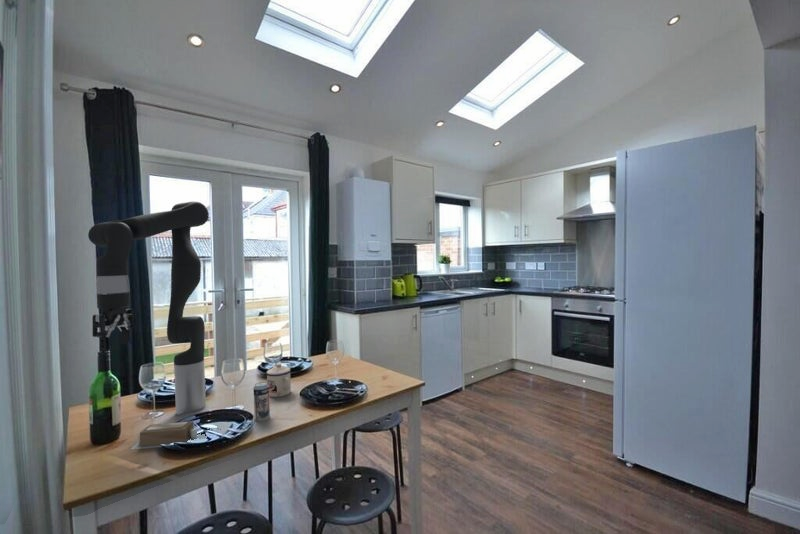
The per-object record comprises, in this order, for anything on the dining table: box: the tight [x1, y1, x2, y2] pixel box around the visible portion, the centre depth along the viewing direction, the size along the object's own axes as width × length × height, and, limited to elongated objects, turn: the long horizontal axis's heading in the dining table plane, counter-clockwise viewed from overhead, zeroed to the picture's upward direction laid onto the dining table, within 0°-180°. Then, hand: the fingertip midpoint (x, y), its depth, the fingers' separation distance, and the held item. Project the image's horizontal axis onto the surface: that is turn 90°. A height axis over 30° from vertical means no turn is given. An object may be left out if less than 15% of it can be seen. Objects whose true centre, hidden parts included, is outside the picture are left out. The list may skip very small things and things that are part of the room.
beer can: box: [253, 381, 271, 422], centre depth 117 cm, size 5×5×12 cm
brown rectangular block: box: [139, 421, 195, 447], centre depth 103 cm, size 5×12×4 cm, turn 97°
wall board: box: [129, 421, 234, 451], centre depth 106 cm, size 13×23×4 cm, turn 97°
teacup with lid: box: [266, 363, 292, 398], centre depth 141 cm, size 12×9×12 cm
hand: (115, 347), depth 104 cm, fingers open, 8 cm apart
